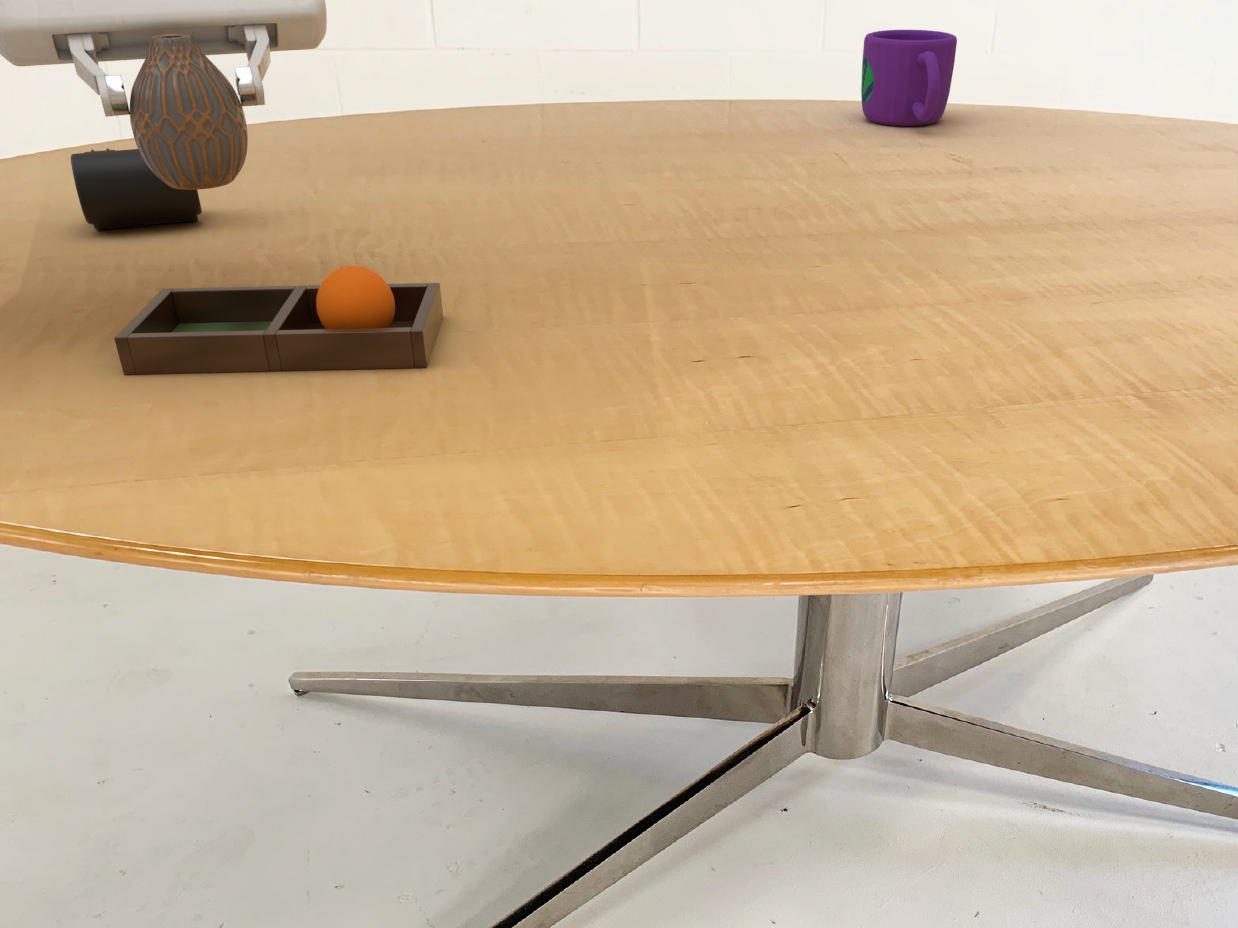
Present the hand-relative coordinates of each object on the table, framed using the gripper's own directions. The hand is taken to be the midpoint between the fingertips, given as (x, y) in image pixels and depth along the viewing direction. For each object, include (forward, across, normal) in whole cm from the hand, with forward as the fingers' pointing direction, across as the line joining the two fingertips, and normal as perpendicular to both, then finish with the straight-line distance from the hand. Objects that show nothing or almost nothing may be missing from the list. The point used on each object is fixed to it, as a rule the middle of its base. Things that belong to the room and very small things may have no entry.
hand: (185, 105), depth 73 cm
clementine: (+14, -8, -8) cm, 18 cm away
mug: (-23, -88, -45) cm, 101 cm away
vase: (+3, 0, -4) cm, 5 cm away
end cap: (-15, +4, -38) cm, 41 cm away
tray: (+13, -4, -9) cm, 16 cm away
